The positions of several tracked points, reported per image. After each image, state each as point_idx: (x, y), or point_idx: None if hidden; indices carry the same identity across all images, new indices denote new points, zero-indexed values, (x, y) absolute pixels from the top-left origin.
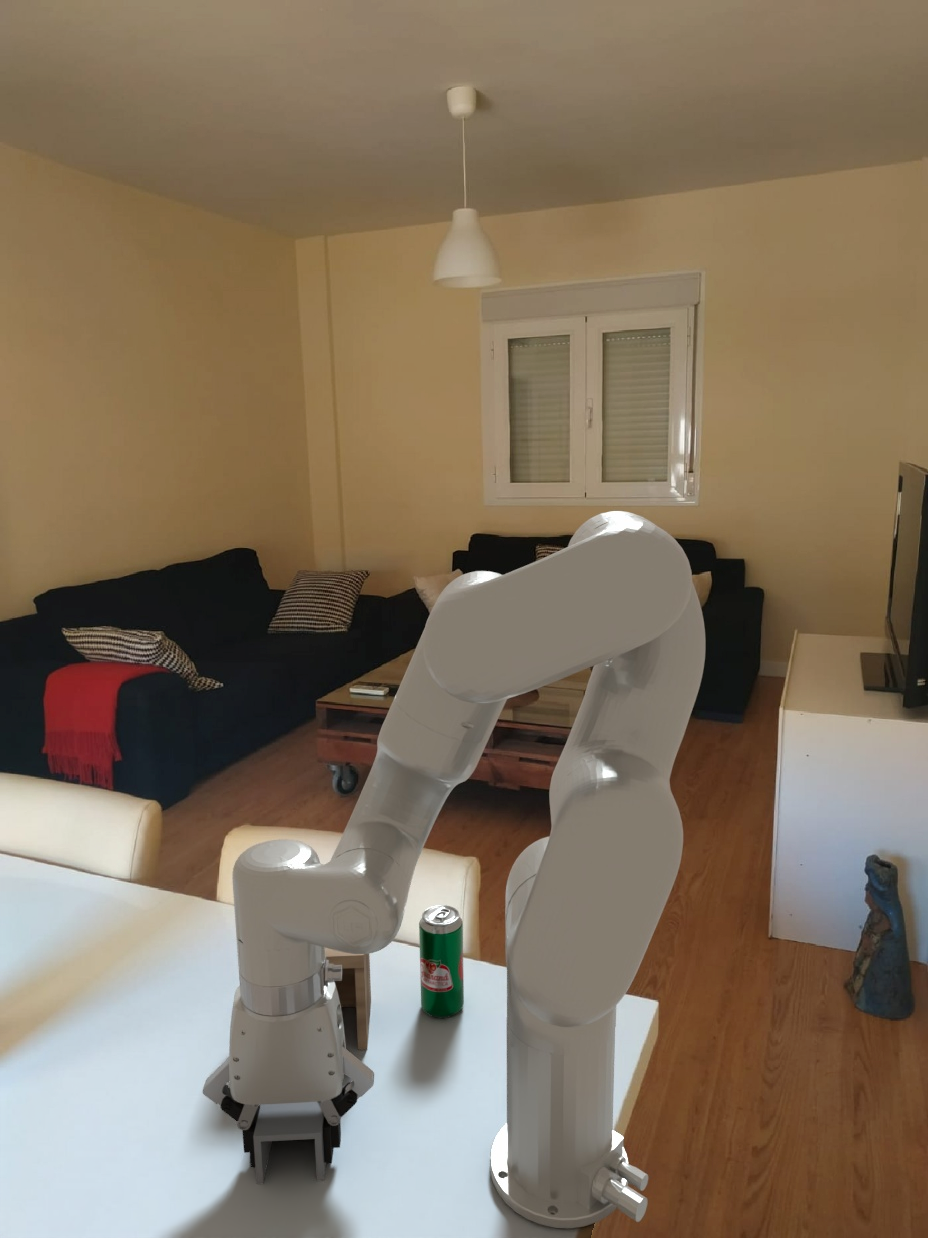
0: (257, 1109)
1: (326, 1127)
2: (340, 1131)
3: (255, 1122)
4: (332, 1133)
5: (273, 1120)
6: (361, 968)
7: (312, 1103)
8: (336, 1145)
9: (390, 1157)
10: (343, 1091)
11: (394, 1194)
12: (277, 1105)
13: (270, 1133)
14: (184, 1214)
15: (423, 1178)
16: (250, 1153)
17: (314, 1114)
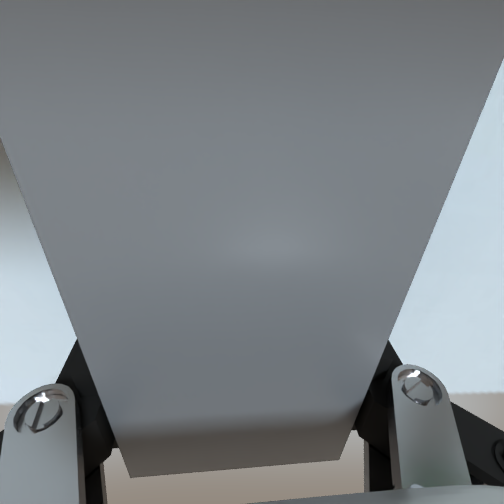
0: (98, 427)
1: (353, 429)
2: None
3: (113, 439)
4: None
5: (180, 442)
6: None
7: (319, 389)
8: None
9: (449, 288)
10: (476, 472)
11: (425, 353)
12: (176, 399)
13: (183, 470)
14: (33, 385)
15: (488, 329)
16: None
17: (324, 424)
